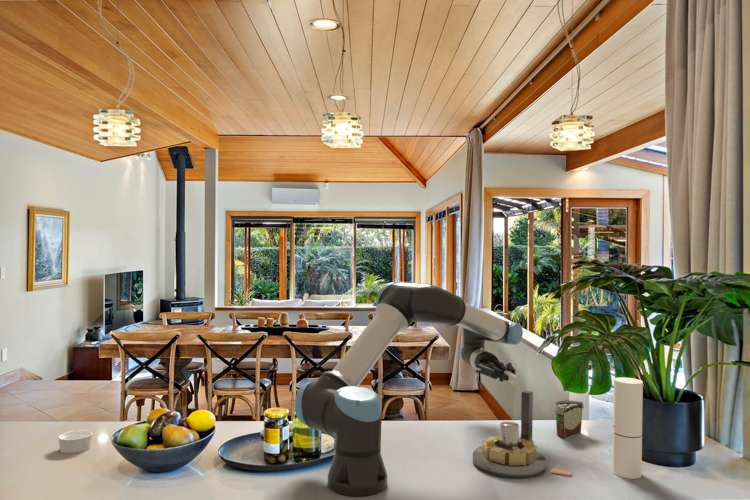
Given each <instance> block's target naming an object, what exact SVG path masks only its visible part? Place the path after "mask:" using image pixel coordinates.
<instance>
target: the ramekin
mask: <svg viewBox="0 0 750 500" xmlns="http://www.w3.org/2000/svg"><path fill="white" fill-rule="evenodd" d="M93 435H94V434H93V432H92V431H91V430H88V429H87V430H85V429H78V430H77V429H76V430H71V431H67V432H65V433H64V432H63V433H61V434H60V435H58V438H57V439H58V444H59V451H60V452H61V453H62V454H67V455H69V454H70V455H71V454H78V453H79V454H80V453H83V452H86V451H88V450H89V449H90V448H91V446H92V440H93V439H92V436H93Z"/></svg>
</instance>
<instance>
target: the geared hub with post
mask: <svg viewBox="0 0 750 500" xmlns="http://www.w3.org/2000/svg"><path fill="white" fill-rule="evenodd" d="M533 401H534V391H529V390H523V391H521V404H520V405H521V406H520V407H521V409H520V410H521V411H520V412H521V414H520V416H521V417H520V419H521V420H520V423H521V424H520V436H519V446H518V447H511V450H506V449H503V448H500V432H498V435H494V436H489V437H487V438H486V439H483V440H482V441H481V442H482V445H481V446H482V453H483V454H484V456H485V457H486V459H489V460H490V461H493V462H497V463H500V464H504V465H505V464H507V463H508V465H526V464H530V463H532V462H533V461H535V460H536V458H537V452H538V451H537V450H538V448H537V446H536V445H535V442H534V440H533V414H534V413H533V412H534V410H533V409H534V407H533V404H534V403H533Z"/></svg>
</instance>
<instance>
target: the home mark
mask: <svg viewBox="0 0 750 500" xmlns="http://www.w3.org/2000/svg"><path fill="white" fill-rule="evenodd" d="M550 473H551V474H554V475H559V476H564V477H571V476H572V474H573V472H572V471H570V470H564V469H558V468H552V469H551V471H550Z"/></svg>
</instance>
